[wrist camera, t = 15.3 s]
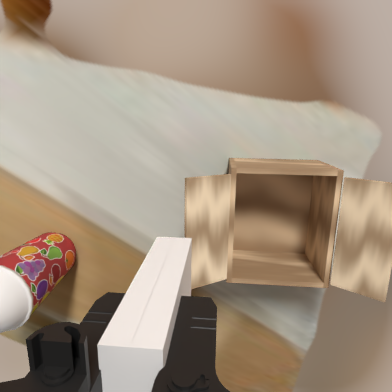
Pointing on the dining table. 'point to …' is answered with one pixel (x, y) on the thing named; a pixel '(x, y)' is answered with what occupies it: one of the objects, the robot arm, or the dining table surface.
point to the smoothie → (32, 276)
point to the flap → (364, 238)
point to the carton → (282, 221)
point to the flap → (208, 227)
